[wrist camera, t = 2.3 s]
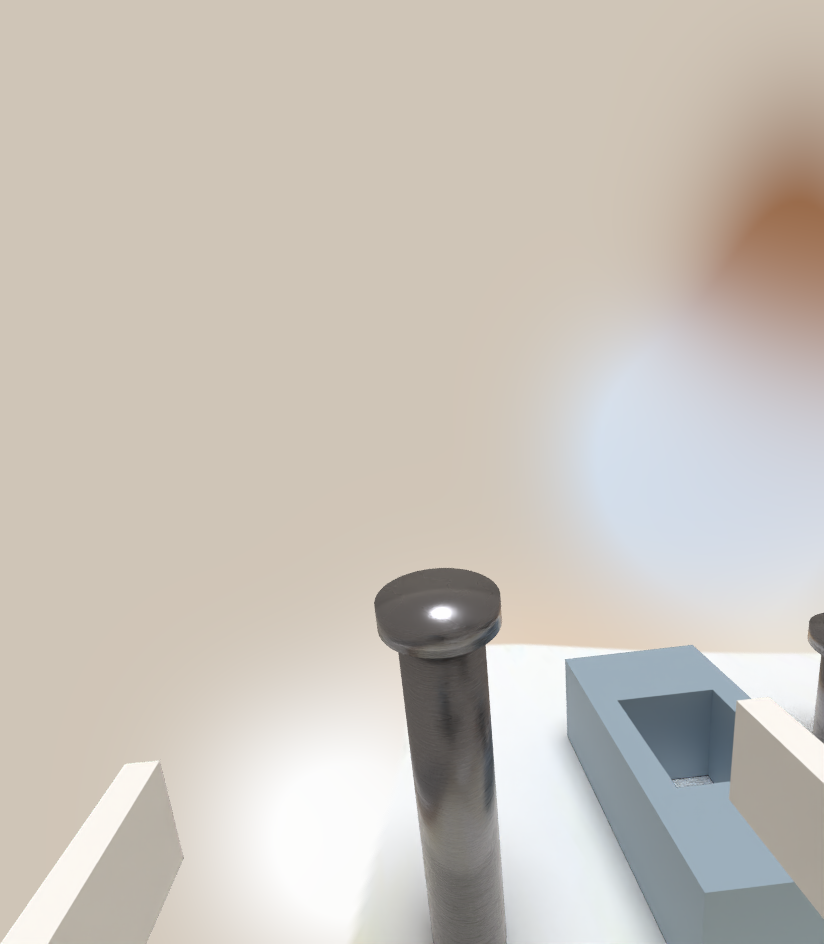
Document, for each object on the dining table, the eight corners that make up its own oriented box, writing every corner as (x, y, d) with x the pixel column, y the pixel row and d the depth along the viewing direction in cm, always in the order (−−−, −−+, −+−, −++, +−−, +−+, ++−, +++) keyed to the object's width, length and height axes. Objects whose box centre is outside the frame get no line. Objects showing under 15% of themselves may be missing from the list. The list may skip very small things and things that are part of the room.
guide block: (910, 982, 21) (933, 865, 19) (698, 1009, 21) (704, 892, 19) (689, 721, 36) (692, 644, 35) (567, 735, 36) (565, 659, 35)
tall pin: (540, 920, 25) (524, 585, 20) (482, 1034, 21) (446, 648, 16) (458, 853, 28) (429, 559, 24) (396, 938, 24) (348, 605, 20)
